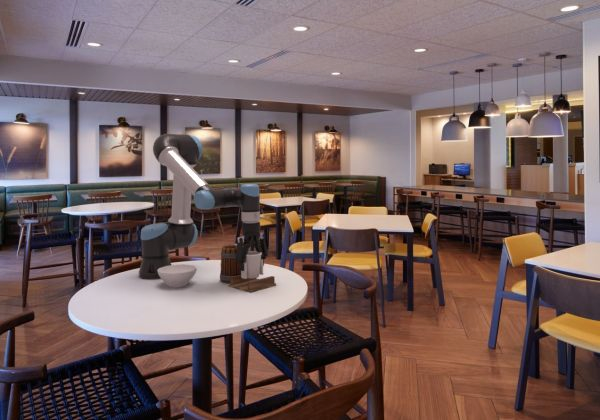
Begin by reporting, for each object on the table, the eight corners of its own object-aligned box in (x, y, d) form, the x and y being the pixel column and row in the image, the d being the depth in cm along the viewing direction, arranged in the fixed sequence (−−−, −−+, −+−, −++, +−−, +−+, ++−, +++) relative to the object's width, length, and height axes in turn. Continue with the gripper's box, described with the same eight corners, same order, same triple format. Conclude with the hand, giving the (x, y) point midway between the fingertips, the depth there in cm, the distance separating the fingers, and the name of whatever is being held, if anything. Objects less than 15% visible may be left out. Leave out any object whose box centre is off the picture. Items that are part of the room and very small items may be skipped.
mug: (239, 284, 186) (238, 249, 185) (216, 283, 188) (215, 248, 187) (250, 274, 202) (250, 242, 200) (229, 274, 204) (228, 242, 202)
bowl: (161, 292, 175) (161, 275, 175) (155, 283, 190) (154, 267, 189) (201, 286, 183) (201, 270, 182) (192, 278, 197) (191, 262, 196)
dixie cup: (239, 275, 185) (239, 252, 184) (258, 273, 188) (258, 250, 187) (245, 280, 177) (244, 255, 176) (265, 277, 181) (264, 253, 180)
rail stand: (228, 286, 183) (228, 277, 183) (254, 279, 193) (254, 271, 193) (250, 292, 173) (250, 283, 173) (276, 285, 183) (276, 276, 183)
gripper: (236, 225, 170) (238, 282, 173) (275, 219, 185) (277, 272, 188) (224, 223, 176) (226, 279, 178) (264, 218, 191) (265, 270, 193)
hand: (252, 276), depth 183 cm, fingers closed on dixie cup, 8 cm apart
